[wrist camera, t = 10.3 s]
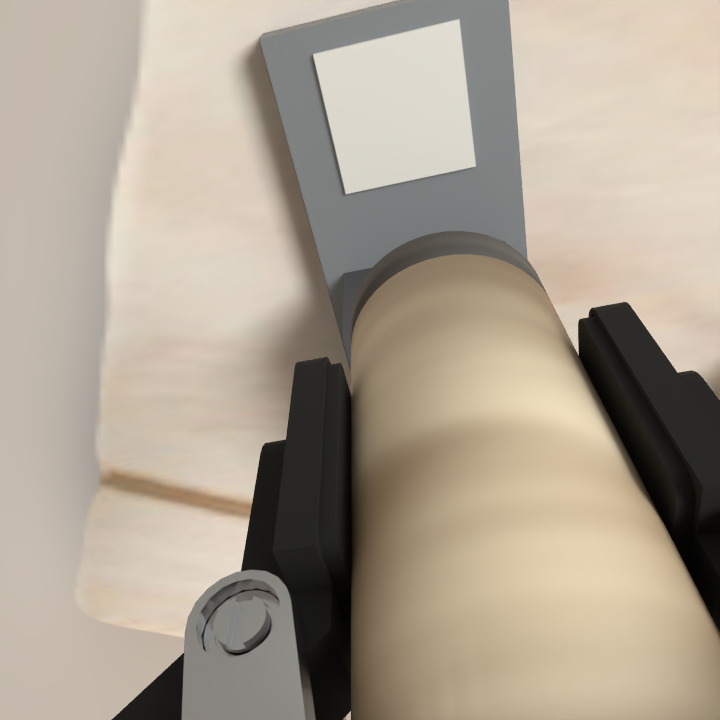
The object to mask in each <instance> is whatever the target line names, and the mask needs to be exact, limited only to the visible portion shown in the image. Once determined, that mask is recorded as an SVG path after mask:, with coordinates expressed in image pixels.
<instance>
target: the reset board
mask: <svg viewBox="0 0 720 720" xmlns="http://www.w3.org/2000/svg"><path fill="white" fill-rule="evenodd" d="M259 40H260V44H261V47H262V51H263V54H264V58H265V62H266V65H267V69H268V73H269V76H270V80H271V84H272V87H273V91H274V94H275V98H276V102H277V105H278V109H279V113H280V116H281V120H282V124H283V127H284V131H285V134H286V138H287V142H288V145H289V149H290V153H291V156H292V160H293V163H294V167H295V171H296V174H297V178H298V182H299V185H300V189H301V193H302V196H303V200H304V203H305V207H306V211H307V214H308V218H309V222H310V225H311V229H312V233H313V236H314V240H315V243H316V247H317V251H318V254H319V258H320V262H321V265H322V269H323V273H324V276H325V280H326V283H327V287H328V291H329V294H330V298H331V302H332V305H333V309H334V312H335V316H336V320H337V323H338V327H339V331H340V334H341V338H342V342H343V345H344V349H345V352H346V356H347V360H348V363H349V367H350V371H351V314H352V306H353V303H354V299H355V296H356V294H357V291H358V289H359V287H360V285H361V283H362V282H363V280H364V278H365V277H366V275H367V274H368V273H369V271H370V270H371V269H372V268H373V267H374V265H375V264H376V263H378V262H379V261H380V260H381V259H382V258H383V257H384V256H385V255H387V254H388V253H390V252H391V251H392V250H394V249H395V248H397V247H399V246H401V245H402V244H404V243H406V242H408V241H411V240H413V239H416V238H418V237H421V236H425V235H429V234H432V233H439V232H446V231H466V232H475V233H479V234H484V235H488V236H490V237H493V238H496V239H498V240H501V241H502V242H504V243H506V244H508V245H510V246H511V247H513V248H514V249H515V250H517V251H518V252H519V253H521V254H522V255H523V256H524V257H525V259H526V260H527V247H526V234H525V220H524V207H523V193H522V179H521V166H520V152H519V138H518V125H517V111H516V97H515V84H514V70H513V57H512V43H511V29H510V16H509V2H508V0H398V1H394V2H390V3H386V4H382V5H377V6H373V7H369V8H365V9H361V10H357V11H353V12H349V13H345V14H341V15H337V16H333V17H329V18H325V19H321V20H316V21H312V22H308V23H304V24H300V25H296V26H292V27H288V28H284V29H280V30H276V31H272V32H268V33H264V34H263V35H262V36H261V37H260V38H259Z"/></svg>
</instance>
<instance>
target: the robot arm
mask: <svg viewBox="0 0 720 720" xmlns="http://www.w3.org/2000/svg"><path fill="white" fill-rule="evenodd" d="M578 339H579V358H580V360H581V362H582V364H583V366H584V367H585V369H586V371H587V373H588V375H589V377H590V379H591V381H592V383H593V385H594V387H595V389H596V391H597V393H598V395H599V397H600V399H601V401H602V403H603V405H604V407H605V409H606V411H607V413H608V415H609V417H610V419H611V420H612V422H613V424H614V426H615V428H616V430H617V432H618V434H619V436H620V438H621V440H622V442H623V444H624V446H625V448H626V450H627V452H628V454H629V456H630V458H631V460H632V462H633V464H634V466H635V468H636V470H637V471H638V473H639V475H640V477H641V479H642V481H643V483H644V485H645V487H646V489H647V491H648V493H649V495H650V497H651V499H652V501H653V503H654V505H655V507H656V509H657V511H658V513H659V515H660V517H661V519H662V521H663V523H664V524H665V526H666V528H667V530H668V532H669V534H670V536H671V538H672V540H673V542H674V544H675V546H676V548H677V550H678V552H679V554H680V556H681V558H682V560H683V562H684V564H685V566H686V568H687V570H688V572H689V574H690V576H691V577H692V579H693V581H694V583H695V585H696V587H697V589H698V591H699V593H700V595H701V597H702V599H703V601H704V603H705V605H706V607H707V609H708V611H709V613H710V615H711V617H712V619H713V621H714V623H715V625H716V627H717V628H718V630H719V632H720V400H719V399H718V398H717V396H716V395H715V394H714V392H713V391H712V390H711V388H710V387H709V386H708V384H707V383H706V382H705V380H704V379H703V378H702V377H701V376H700V375H699V374H698V373H697V372H694V371H686V372H680V373H677V371H676V370H675V369H674V367H673V366H672V364H671V363H670V361H669V360H668V359H667V357H666V356H665V354H664V353H663V352H662V350H661V349H660V347H659V346H658V344H657V343H656V342H655V340H654V339H653V337H652V336H651V335H650V333H649V332H648V330H647V329H646V327H645V326H644V325H643V323H642V322H641V320H640V319H639V317H638V316H637V315H636V313H635V312H634V310H633V309H632V308H631V306H630V305H629V304H628V303H627V302H622V303H617V304H612V305H606V306H601V307H595V308H591V309H590V312H589V318H583V319H580V320H579V323H578ZM350 711H351V394H350V391H349V387H348V384H347V380H346V377H345V373H344V370H343V367H342V364H341V363H337V364H332V365H331V363H330V361H329V359H328V358H327V357H324V358H319V359H313V360H308V361H302V362H297V363H296V365H295V371H294V379H293V387H292V395H291V403H290V412H289V420H288V428H287V436H286V440H281V441H276V442H270V443H265V444H264V445H263V447H262V450H261V454H260V460H259V467H258V473H257V479H256V485H255V491H254V497H253V503H252V509H251V515H250V521H249V527H248V533H247V539H246V545H245V551H244V557H243V563H242V569H241V572H236V573H234V574H231V575H229V576H227V577H224V578H222V579H220V580H219V581H218V582H216V583H215V584H214V585H212V586H211V587H210V588H208V589H207V590H206V591H205V592H204V594H203V595H202V596H201V597H200V598H199V599H198V600H197V602H196V603H195V605H194V607H193V609H192V611H191V613H190V615H189V617H188V620H187V625H186V630H185V645H184V653H183V654H182V655H181V656H180V657H179V658H178V659H177V660H176V661H175V662H174V663H172V664H171V665H170V666H169V667H168V668H167V669H166V670H165V671H164V672H163V673H162V674H161V675H160V676H158V677H157V678H156V679H155V680H154V681H153V682H152V683H151V684H150V685H149V686H148V687H147V688H145V689H144V690H143V691H142V692H141V693H140V694H139V695H138V696H137V697H136V698H135V699H134V700H133V701H132V702H130V703H129V704H128V705H127V706H126V707H125V708H124V709H123V710H122V711H121V712H120V713H119V714H117V715H116V716H115V717H114V718H113V719H112V720H346V715H347V714H348V713H349V712H350Z"/></svg>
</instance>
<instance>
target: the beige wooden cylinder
mask: <svg viewBox="0 0 720 720" xmlns="http://www.w3.org/2000/svg"><path fill="white" fill-rule="evenodd" d="M351 720H720V632H719V630H718V628H717V627H716V625H715V623H714V621H713V619H712V617H711V615H710V613H709V611H708V609H707V607H706V605H705V603H704V601H703V599H702V597H701V595H700V593H699V591H698V589H697V587H696V585H695V583H694V581H693V579H692V577H691V576H690V574H689V572H688V570H687V568H686V566H685V564H684V562H683V560H682V558H681V556H680V554H679V552H678V550H677V548H676V546H675V544H674V542H673V540H672V538H671V536H670V534H669V532H668V530H667V528H666V526H665V524H664V523H663V521H662V519H661V517H660V515H659V513H658V511H657V509H656V507H655V505H654V503H653V501H652V499H651V497H650V495H649V493H648V491H647V489H646V487H645V485H644V483H643V481H642V479H641V477H640V475H639V473H638V471H637V470H636V468H635V466H634V464H633V462H632V460H631V458H630V456H629V454H628V452H627V450H626V448H625V446H624V444H623V442H622V440H621V438H620V436H619V434H618V432H617V430H616V428H615V426H614V424H613V422H612V420H611V419H610V417H609V415H608V413H607V411H606V409H605V407H604V405H603V403H602V401H601V399H600V397H599V395H598V393H597V391H596V389H595V387H594V385H593V383H592V381H591V379H590V377H589V375H588V373H587V371H586V369H585V367H584V366H583V364H582V362H581V360H580V358H579V356H578V354H577V352H576V350H575V348H574V346H573V344H572V342H571V340H570V338H569V336H568V334H567V332H566V330H565V328H564V326H563V324H562V322H561V320H560V318H559V316H558V314H557V313H556V311H555V309H554V307H553V305H552V303H551V301H550V299H549V297H548V295H547V293H546V291H545V289H544V287H543V285H542V283H541V281H540V279H539V277H538V275H537V273H536V271H535V270H534V269H533V267H532V266H531V264H530V263H529V262H528V261H527V260H526V259H525V257H524V256H523V255H522V254H521V253H519V252H518V251H517V250H515V249H514V248H513V247H511V246H510V245H508V244H506V243H504V242H502V241H501V240H498V239H496V238H493V237H490V236H488V235H484V234H479V233H475V232H466V231H446V232H439V233H432V234H429V235H425V236H421V237H418V238H416V239H413V240H411V241H408V242H406V243H404V244H402V245H401V246H399V247H397V248H395V249H394V250H392V251H391V252H390V253H388V254H387V255H385V256H384V257H383V258H382V259H381V260H380V261H379V262H378V263H376V264H375V265H374V267H373V268H372V269H371V270H370V271H369V273H368V274H367V275H366V277H365V278H364V280H363V282H362V283H361V285H360V287H359V289H358V291H357V294H356V296H355V299H354V303H353V306H352V314H351Z"/></svg>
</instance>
